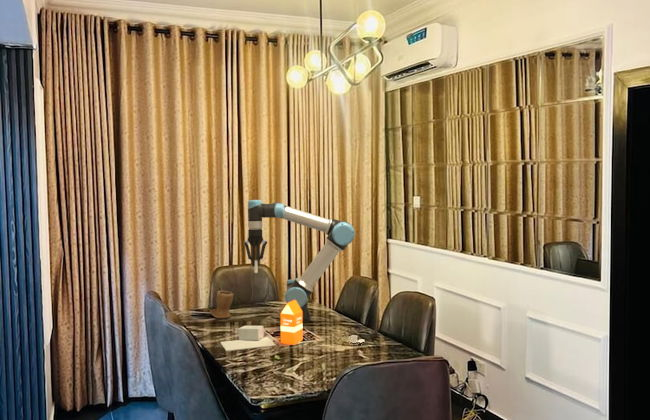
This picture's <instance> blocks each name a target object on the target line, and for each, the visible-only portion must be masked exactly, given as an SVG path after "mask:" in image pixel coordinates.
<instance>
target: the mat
mask: <svg viewBox="0 0 650 420" xmlns="http://www.w3.org/2000/svg"><path fill="white" fill-rule="evenodd" d="M219 343H220V345H221V346H222V347H223V349H224V350H225V352H232V351H239V350H240V351H241V350H243V351H244V350H250V349H260V348H267V347H269V348H271V347H276V346H277V344H276V343H275V342H274V341H273V340H272V339H271V338H270V337H269V336H264V337H262V338H261V339H259V340H239V339H235V340H227V341H226V340H225V341H220V342H219Z"/></svg>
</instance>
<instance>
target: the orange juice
mask: <svg viewBox="0 0 650 420" xmlns="http://www.w3.org/2000/svg"><path fill="white" fill-rule="evenodd" d="M303 323H304V322H303ZM303 323H302V310H301V308H300V307H299V305H298V303H297V302H296V300H293V301H291V302H288V303H286V304H285V306H284V307H283V309H282V311H281V312H280V344H285V345H293V346H294V345H297V344H298V343H300V342H302V341H303V340H304V339H303V336H304V335H303V331H304V330H303Z"/></svg>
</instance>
